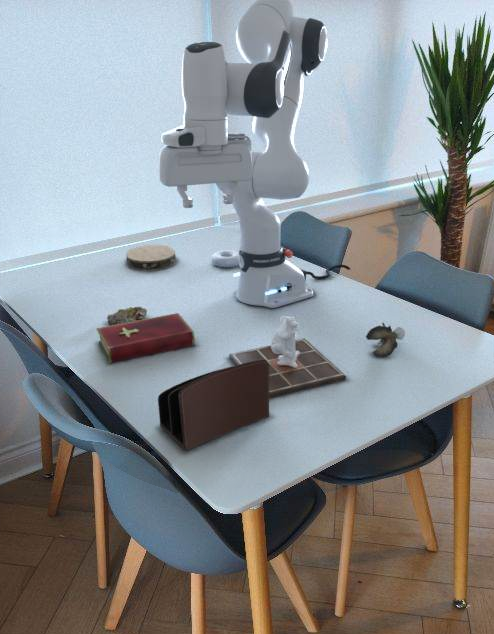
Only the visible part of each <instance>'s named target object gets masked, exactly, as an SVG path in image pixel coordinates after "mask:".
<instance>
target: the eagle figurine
mask: <svg viewBox="0 0 494 634" xmlns="http://www.w3.org/2000/svg"><path fill="white" fill-rule="evenodd" d="M405 335H406V331H405V329H404V328H402V327H401V326H397V327H396V328H395V329H394V330H393V329H392V327H391V325H388V326H386V325H385V323H384V322H383V321H382V322H381V325H377V326H374V327H372V328H370V330H368V332H367V333H366V335H365V339H366V340H367V341H377V342H376V344H375V347H377V348H376V349H375V350H373V351H372V355H373V356H374V358H387V357H389V356H391V355H392V354H393V352H394V351H395V350H396V349H397V348H398V342H397V340H400V341H401V340H403V339H404V337H405Z"/></svg>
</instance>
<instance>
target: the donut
mask: <svg viewBox="0 0 494 634" xmlns="http://www.w3.org/2000/svg"><path fill="white" fill-rule="evenodd" d="M211 262H212V264H213V265H215V266H216V267H218V268H224V269H225V268H228V269H229V268H234V267H237V266H239V251H236V250H232V249H222V250H218V251H216V252H214V253H213V254H212V256H211Z"/></svg>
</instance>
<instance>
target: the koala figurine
mask: <svg viewBox="0 0 494 634" xmlns="http://www.w3.org/2000/svg"><path fill="white" fill-rule="evenodd" d="M279 324H280V326H279V327H278V329H276V331H275V332H274V333H273V336H272V338H271V343H270V345H271V349H272V351H273V353H275V354H282V356H279V357H278V359H279V360H280V361H278V362H277V364H278V365H287V366H291V367H294V368H297V367H298V366H297V364H296V363H295V361H296V360H297V357H298V355H299V354H300V352H299V351H296V350H295V340H297V334H296V333H297V331H298V330H299V322H298V321H296V319H295V316H286V315H281V316H280V318H279ZM295 351H296V352H295Z"/></svg>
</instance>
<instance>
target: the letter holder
mask: <svg viewBox="0 0 494 634" xmlns="http://www.w3.org/2000/svg"><path fill="white" fill-rule="evenodd" d="M157 405H158V415H159V416H158V417H159V427H160V428H161V429H162V430H163V431H164V432H165V433H166V434H167V435H168V436H169V437H170V438H171V439H172V440H173V441H174V442H175V443H176V444H177V445H178V446H179V447H180V448H181V449H183V450H184V451H185V452H186V451H189V450H191V449H194V448H196V447H198V446H201V445H203V444H205V443H207V442H210V441H212V440H215V439H218V438H220V437H223V436H225V435H227V434H230V433H232V432H235V431H237V430H240V429H242V428H245V427H248V426H250V425H252V424H255V423H258V422H260V421H262V420H265V419H267V418H269V417H270V398H269V363H268V362H267V360H257V361H252V362H248V363H244V364H240V365H236V366H235V365H233V366H228V367H223V368H221V369H217V370H213V371H210V372H207V373H203V374H201V375H197V376H195V377H192V378H190V379H188V380H187V379H186V380H185V381H183V382H180V383H177V384H175V385H173V386H171V387H169V388H168V389H166V390H164V391H162V392H161V393H159V395H158V397H157Z"/></svg>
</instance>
